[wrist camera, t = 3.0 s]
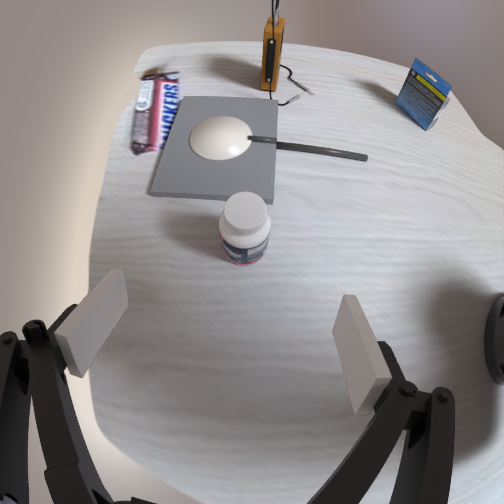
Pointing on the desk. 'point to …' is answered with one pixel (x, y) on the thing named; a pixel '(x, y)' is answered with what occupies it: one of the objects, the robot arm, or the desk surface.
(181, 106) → the board
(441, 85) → the label tape cartridge
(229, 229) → the pill bottle
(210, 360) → the desk surface
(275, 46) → the multimeter
